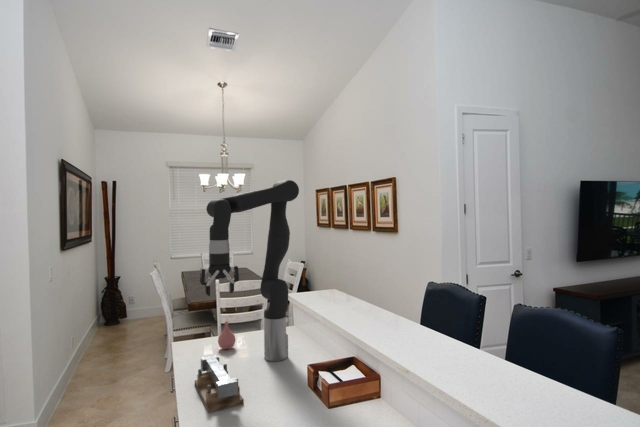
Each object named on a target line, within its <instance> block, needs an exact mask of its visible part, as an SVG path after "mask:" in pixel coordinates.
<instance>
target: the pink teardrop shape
mask: <svg viewBox="0 0 640 427" xmlns="http://www.w3.org/2000/svg"><path fill="white" fill-rule="evenodd" d="M235 343H236V336H235V334H234V333H233V332H232V330H230V328H229V321H224V327H223V330H222V332H221V333H220V334H219V335H218V340H217V344H218V346H219V348H221V349H224V350H226V349H227V350H229V349H230V348H233V347H234V346H235Z"/></svg>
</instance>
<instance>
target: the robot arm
mask: <svg viewBox="0 0 640 427" xmlns="http://www.w3.org/2000/svg"><path fill="white" fill-rule="evenodd" d="M299 193H300V189H299V185H298V184H297V183H296V182H295V181H294V180H292V179H291V180H290V179H284V180H279V181H276V182H275V183H274V184H273V185H272V187H269V188H262V189H258V190H251V191H246V192H242V193H238V194H234V195H232V196H227V197H222V198H218V199H217V198H216V199H213V200H210V201H209V202H208V204H207V205H206V213H207V214H208V216H210V217H211V218H213V220H212V225H210V228H209V244H208V255H209V256H208V258H209V259H208V268H204V267H201V268H200V273H199V274H200V275H199V284H200V285H201V286H204V290H205V291H204V294H205V295H206V296H207V297H210V296H211V284H212V282H213V281H214V280H215V279H216V280H219V279H225V278H226V279H227V280H228V289H229V291H228V292H229V294H233V293H234V292H235V284H236V283H237V282H239V281H240V273H239V266H237V265H233V266H231V264H230V262H231V261H230V258H231V257H230V256H231V255H230V254H231V253H230V250H231V248H230V242H229V241H230V240H229V237H230V236H229V234H230V233H229V227H230V225H231V224H230V222H231V219H232V218H231V217H232V214H234V213H243V212H247V211H250V210H253V209H255V208H259V207H262V206H266V205H269V204H270V217H269V228H268V234H267V243H266V245H267V246H266V252H265V260H264V268H263V273H262V275H261V276H262V278H261V281H260V287H259V288H260V294H261V296H262V297H263V298H264V299H266V300H269V303H268V304H269V306H268V308H266V309H264V312H263V335H264V336H263V338H264V339H263V343H264V344H263V346H264V347H263V349H264V351H263V352H264V354H263V355H264V356H263V357H264V360H266V361H267V362H279V361H283V360H285V359H287V358H289V335H288V334H287V312H288V309H289V286H288V284H287V282H286V281H285V280H284V279H282V278H281V279H280V278H279V271H280V267H281V263H282V261H284V258H285V256H286V254H287V253H288V250H289V246H290V238H291V237H290V236H291V231H290V226H289V223H288V220H287V214H286V212H287V204H288V202H292V201H294V200H296V198H298V195H299ZM231 271H232V272H233V278H232V276H231V275H230V274H229V273H230V272H231ZM208 273H209V276H208V278H207V279H205V278H206V275H207V274H208Z"/></svg>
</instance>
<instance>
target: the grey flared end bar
mask: <svg viewBox="0 0 640 427" xmlns="http://www.w3.org/2000/svg"><path fill="white" fill-rule="evenodd" d="M200 369H202V373H204V372H207V373H208V375H209V376H210V378H211V380H212V381H213V383H214V385H215V386H216V396H217V397H218V399H220V398H224V397H228V396H233V395H237V394H238V386H239V380H238V381H237V380H236V379H237V378H236V377H233V378H232V377H230V375H229V373H228V374H227V372H226V371H225V370H224V368H223V365H222V364H221V362H220V356H219V355H218V354H213V355H207V356H203V357H200Z"/></svg>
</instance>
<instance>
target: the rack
mask: <svg viewBox="0 0 640 427" xmlns="http://www.w3.org/2000/svg"><path fill="white" fill-rule="evenodd" d="M222 367H223V368H224V370H225V371H226V372H227V374H228V375H229V371H228V364H227V363H223V365H222ZM197 373H198V374H197V375H196V376H197V379H196V380H194V386H195V388H196V390H197V393H198V394H199V396H200V399H201V401H202V403H203V404H204V407H205V409H206V411H207V413H208V414H210V413H214V412H218V411H221V410H225V409H229V408H232V407H236V406H241V405H244V402H245V401H244V397H243V396H242V395H241V389H240V385H238V394H237V395H233V396H228V397H224V398H220V399H218V397H217V396H216V386H215V385H214V383H213V381H212V380H211V378H210V376H209V375H208V373H207V371H205V372H202V369H201V368H200V369H198V370H197ZM235 379H236V380H237V381H238V382H239V378H235Z"/></svg>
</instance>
